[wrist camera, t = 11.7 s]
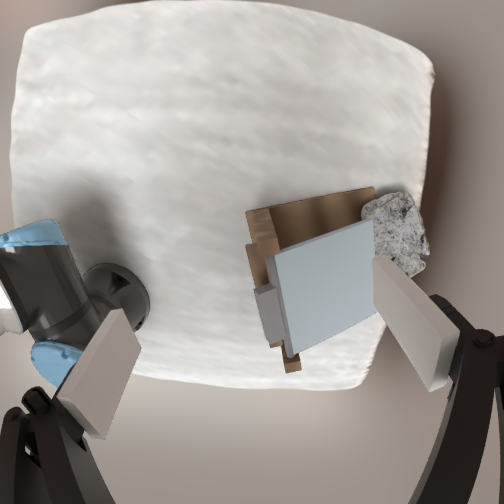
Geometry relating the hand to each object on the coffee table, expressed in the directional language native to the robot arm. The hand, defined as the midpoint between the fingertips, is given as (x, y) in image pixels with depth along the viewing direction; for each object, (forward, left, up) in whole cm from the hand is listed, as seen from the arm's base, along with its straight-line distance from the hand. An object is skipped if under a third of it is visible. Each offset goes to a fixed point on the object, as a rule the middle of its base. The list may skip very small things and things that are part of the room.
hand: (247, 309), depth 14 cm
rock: (+22, -12, -28) cm, 38 cm away
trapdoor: (+7, -14, -24) cm, 29 cm away
